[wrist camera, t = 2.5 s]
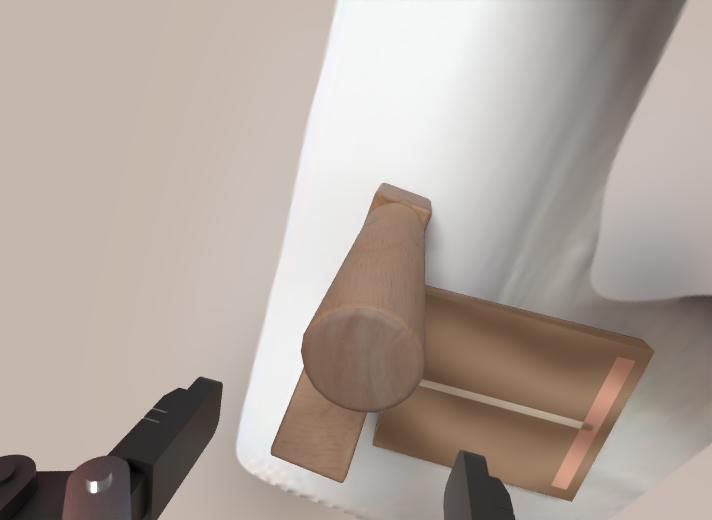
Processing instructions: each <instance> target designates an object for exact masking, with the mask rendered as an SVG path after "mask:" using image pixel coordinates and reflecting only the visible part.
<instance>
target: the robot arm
mask: <svg viewBox="0 0 712 520" xmlns="http://www.w3.org/2000/svg"><path fill="white" fill-rule="evenodd" d="M222 389H223V384H222V383H221V382H219V381H215V380H212V379H208V378H204V377H199V378H198V379H196V380H195V382H194V383H193V384H192V385H191V386H190V387H189V388H188V390H186V389H182V388H178V389H176V390H174V391H172V392H170V393H168V394H166V395H164V396H163V397H162V398H161V399H160V400H159V401H158V403H156V405H155V406H154V407H153V409H151V410H150V411H149V412H148V413H147V414H146V415H145V416H144V418H143V419H141V420H140V422H138V424H137V425H136V426H135V427H134V428H133V429H132V430H131V431H130V432H129V433H128V434H127V435H126V436H125V437H124V438H123V439H122V440H121V441H120V442H119V444H118V445H117V446H116V447H115V448H114V449H113V450H112V451H111V452H110V453H109V454H108V455H107V456H101V457H97V458H93V459H91V460H88V461H86V462H84V463H83V464H81V465H80V466H79V467H77V468H76V469H75V470H73V471H39V472H38V471H36V465H35V462H34V461H33V460H32V459H31V458H29V457H27V456H24V455H8V456H2V457H0V520H157V519H158V518H159V516H160V515H161V513H162V512H163V510H164V509H165V507H166V506H167V504H168V503H169V501H170V500H171V498H172V497H173V495H174V494H175V492H176V490H177V489H178V488H179V486H180V485H181V483H182V482H183V480H184V479H185V477H186V476H187V474H188V473H189V471H190V470H191V468H192V467H193V465H194V464H195V462H196V461H197V459H198V458H199V456H200V455H201V453H202V452H203V450H204V449H205V448H206V446H207V445H208V443H209V441H210V440H211V438H212V437H213V435H214V433H215V431H216V428H217V425H218V422H219V416H220V407H221V398H222ZM444 520H515V516H514V514H513V507H512V503H511V499H510V495H509V493H508V491H507V490H506V488H505V487H504V485H503V483H502V482H501V480H500V479H499V478H496V477H492V476H489V472H488V467H487V462H486V458H485V456H483V455H479V454H475V453H472V452H468V451H464V450H460V451H459V453H458V455H457V458H456V460H455V463H454V466H453V468H452V471H451V474H450V476H449V479H448V482H447V484H446V488H445V493H444Z"/></svg>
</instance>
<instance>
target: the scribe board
mask: <svg viewBox="0 0 712 520" xmlns="http://www.w3.org/2000/svg"><path fill="white" fill-rule="evenodd" d="M425 320H426V367H425V371H424V374H423V378H422V381H421V382H420V384H419V385H418V386H417V388H416V389H415V390H414V392H413V393H412V394H411V396H410V397H409V398H408V399H406V400H405V401H403V402H402V403H400V404H399V405H397V406H396V407H394V408H390V409H387V410H384V411H380V415H379V418H378V422H377V425H376V429H375V433H374V439H373V445H374V446H377V447H381V448H384V449H388V450H391V451H395V452H398V453H402V454H405V455H409V456H412V457H416V458H420V459H423V460H427V461H430V462H434V463H437V464H441V465H444V466H448V467H451V468H453V466H454V463H455V460H456V458H457V455H458V453H459V451H460V450H464V451H468V452H472V453H475V454H479V455H483V456H485V458H486V462H487V467H488V472H489V476H492V477H496V478H499V479H500V480H501V482H504V483H508V484H511V485H515V486H518V487H522V488H525V489H529V490H532V491H536V492H539V493H543V494H546V495H550V496H553V497H557V498H561V499H564V500H568V501H571V502H572V500H573V499H574V497H575V495H576V493H577V491H578V490H579V488H580V486H581V484H582V482H583V481H584V479H585V477H586V475H587V473H588V471H589V470H590V468H591V466H592V464H593V462H594V461H595V459H596V457H597V455H598V453H599V451H600V450H601V448H602V446H603V444H604V442H605V441H606V439H607V437H608V435H609V433H610V432H611V430H612V428H613V426H614V424H615V422H616V421H617V419H618V417H619V415H620V413H621V412H622V410H623V408H624V406H625V404H626V403H627V401H628V399H629V397H630V395H631V393H632V392H633V390H634V388H635V386H636V384H637V383H638V381H639V379H640V377H641V375H642V374H643V372H644V370H645V368H646V366H647V364H648V363H649V361H650V359H651V357H652V355H653V354H654V351H653V350H652V349H651V348H650V347H649V346H648V345H647V344H646V343H645V342H644V341H643V340H641V339H637V338H633V337H629V336H625V335H621V334H617V333H613V332H609V331H605V330H601V329H597V328H593V327H589V326H585V325H581V324H577V323H573V322H569V321H565V320H561V319H557V318H553V317H549V316H545V315H541V314H537V313H533V312H529V311H525V310H521V309H517V308H513V307H509V306H506V305H502V304H498V303H494V302H490V301H486V300H482V299H478V298H474V297H470V296H466V295H462V294H458V293H454V292H450V291H446V290H442V289H438V288H434V287H430V286H426V285H425Z"/></svg>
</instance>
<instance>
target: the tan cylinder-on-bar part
mask: <svg viewBox="0 0 712 520" xmlns="http://www.w3.org/2000/svg"><path fill="white" fill-rule="evenodd" d="M430 217H431V201H430V200H429V199H427V198H424V197H422V196H419V195H416V194H414V193H411V192H408V191H406V190H403V189H400V188H398V187H395V186H392V185H390V184H387V183H382V184H381V185H380V187H379V188H378V190H377V191H376V193H375V195H374V198H373V201H372V204H371V206H370V209H369V212H368V215H367V217H366V220H365V223H364V226H363V227H362V229H361V231H360V233H359V235H358V237H357V238H356V240H355V242H354V244H353V246H352V248H351V249H350V251H349V253H348V255H347V257H346V258H345V260H344V262H343V264H342V266H341V268H340V269H339V271H338V273H337V275H336V277H335V278H334V280H333V282H332V284H331V286H330V288H329V289H328V291H327V293H326V295H325V297H324V298H323V300H322V302H321V304H320V306H319V308H318V309H317V311H316V313H315V315H314V317H313V319H312V320H311V322H310V324H309V326H308V328H307V329H306V331H305V333H304V335H303V342H302V348H301V354H302V359H303V364H304V368H303V371H302V373H301V376H300V378H299V380H298V383H297V385H296V388H295V390H294V393H293V395H292V398H291V400H290V403H289V405H288V407H287V410H286V412H285V415H284V417H283V420H282V422H281V425H280V427H279V430H278V432H277V435H276V437H275V439H274V442H273V444H272V447H271V455H272V456H275V457H277V458H280V459H282V460H285V461H287V462H290V463H292V464H295V465H297V466H300V467H302V468H305V469H307V470H310V471H312V472H315V473H317V474H320V475H322V476H325V477H327V478H330V479H332V480H335V481H337V482H340V483H342V482H344V480H345V478H346V476H347V473H348V470H349V467H350V464H351V461H352V458H353V455H354V451H355V448H356V445H357V442H358V439H359V436H360V433H361V430H362V427H363V424H364V421H365V418H366V415H367V412H380V411H384V410H387V409H390V408H394V407H396V406H397V405H399V404H400V403H402V402H403V401H405V400H406V399H408V398H409V397H410V396H411V394H412V393H413V392H414V390H415V389H416V388H417V386H418V385H419V384H420V382H421V381H422V378H423V374H424V371H425V367H426V320H425V260H424V231H425V229H426V226H427V224H428V222H429V219H430Z"/></svg>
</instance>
